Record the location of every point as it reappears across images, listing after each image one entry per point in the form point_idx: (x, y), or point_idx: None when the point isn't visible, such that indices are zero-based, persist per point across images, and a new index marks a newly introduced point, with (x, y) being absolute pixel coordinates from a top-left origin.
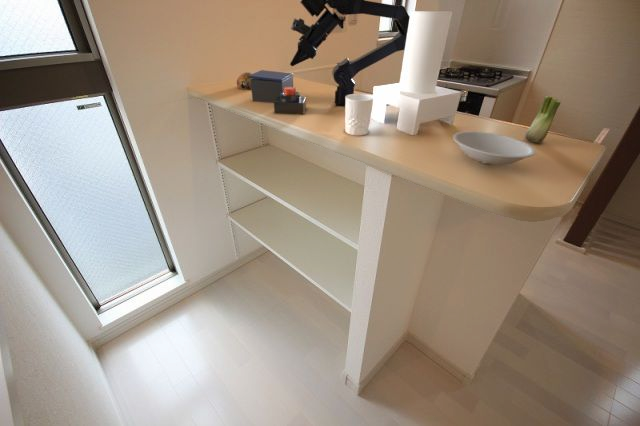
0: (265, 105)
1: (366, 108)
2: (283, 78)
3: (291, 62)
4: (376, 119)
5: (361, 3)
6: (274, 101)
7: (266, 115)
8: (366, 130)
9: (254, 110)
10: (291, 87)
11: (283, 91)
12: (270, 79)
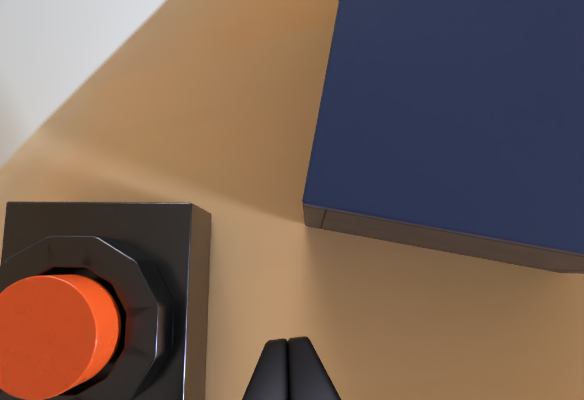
0: (252, 107)
1: None
2: (367, 212)
3: (255, 378)
4: None
5: None
6: (16, 205)
7: (20, 166)
8: None
9: (126, 64)
10: (62, 351)
11: (332, 222)
12: (327, 74)
